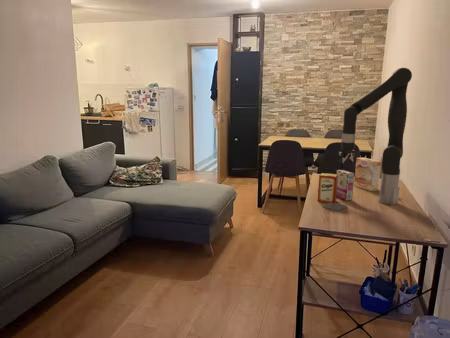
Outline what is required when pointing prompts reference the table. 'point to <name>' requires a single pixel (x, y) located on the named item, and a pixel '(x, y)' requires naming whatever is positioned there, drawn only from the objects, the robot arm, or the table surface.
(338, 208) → the slate coaster
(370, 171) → the coffeecake box
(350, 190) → the candy bar box
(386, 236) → the table surface
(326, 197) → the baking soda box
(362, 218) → the table surface
